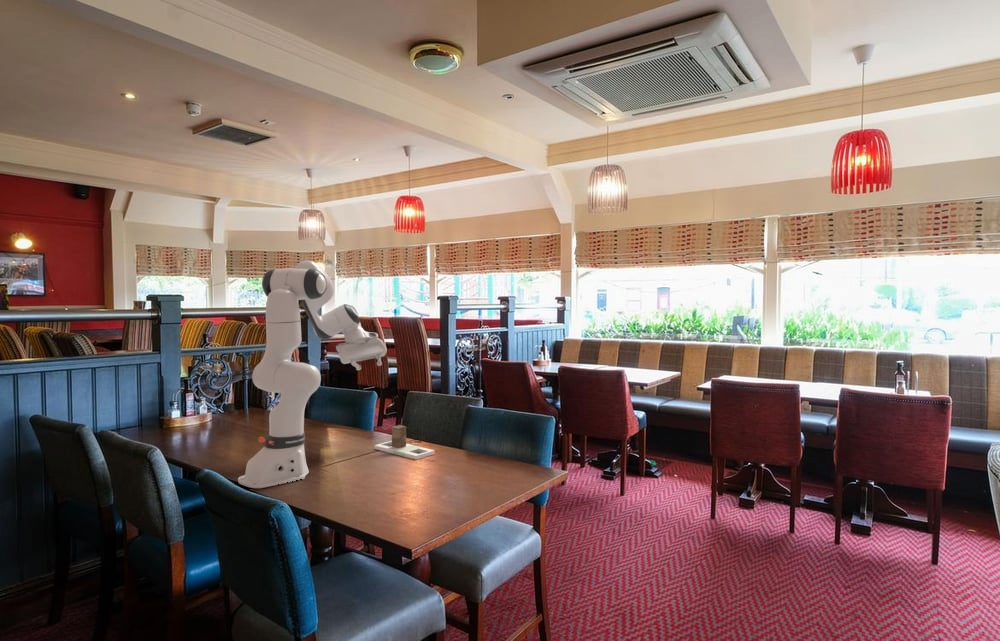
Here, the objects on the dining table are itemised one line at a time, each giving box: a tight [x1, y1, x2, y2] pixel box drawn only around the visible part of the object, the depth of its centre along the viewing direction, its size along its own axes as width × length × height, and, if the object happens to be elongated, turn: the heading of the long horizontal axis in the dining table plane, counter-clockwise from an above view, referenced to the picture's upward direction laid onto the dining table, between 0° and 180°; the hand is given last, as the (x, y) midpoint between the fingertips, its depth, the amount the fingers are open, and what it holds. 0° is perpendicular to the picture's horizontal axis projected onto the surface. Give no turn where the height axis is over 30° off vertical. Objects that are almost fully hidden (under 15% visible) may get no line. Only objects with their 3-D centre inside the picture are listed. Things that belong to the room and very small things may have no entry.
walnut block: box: [391, 424, 407, 448], centre depth 224 cm, size 4×4×8 cm
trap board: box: [373, 440, 436, 461], centre depth 222 cm, size 10×24×2 cm, turn 52°
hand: (369, 367), depth 232 cm, fingers open, 8 cm apart
